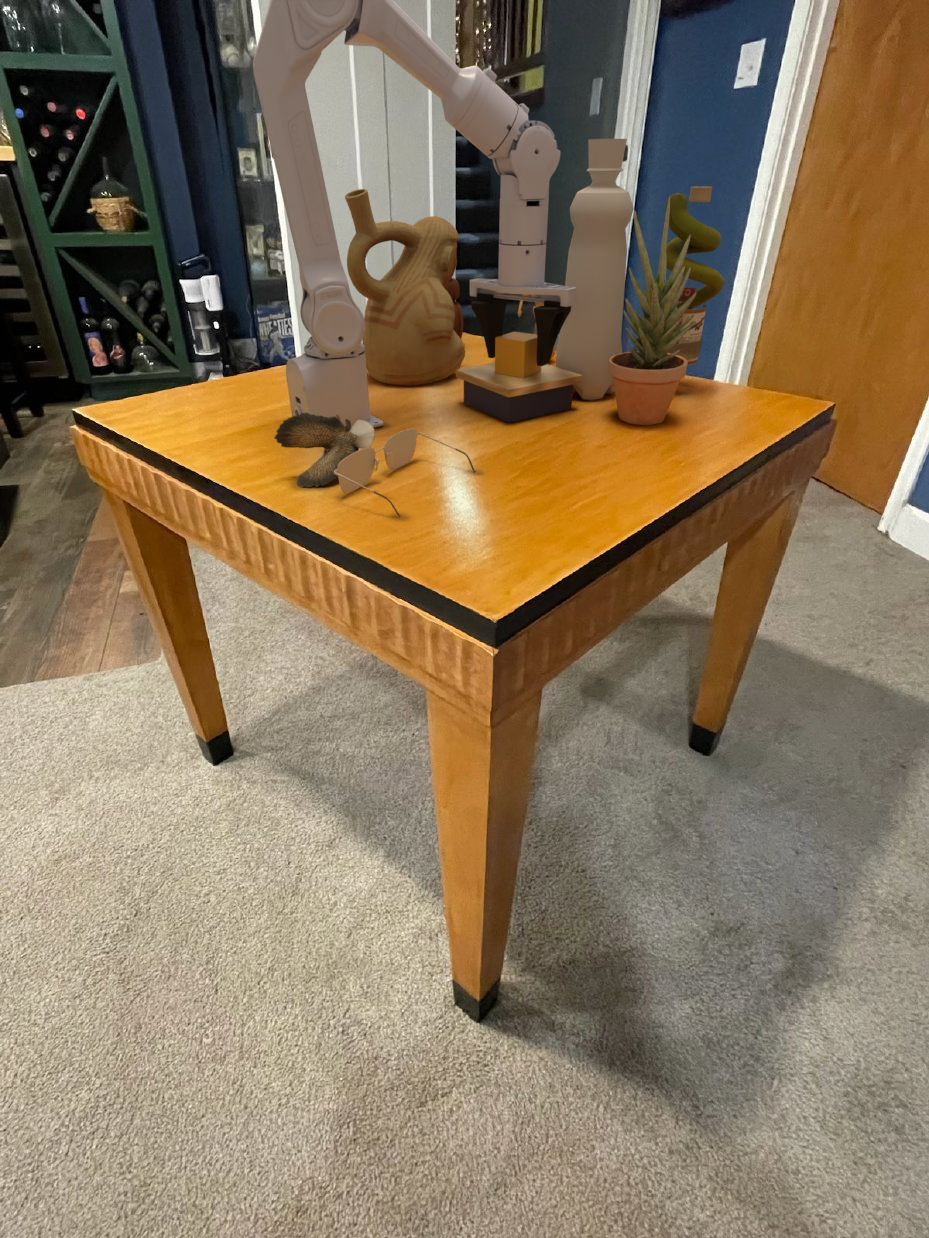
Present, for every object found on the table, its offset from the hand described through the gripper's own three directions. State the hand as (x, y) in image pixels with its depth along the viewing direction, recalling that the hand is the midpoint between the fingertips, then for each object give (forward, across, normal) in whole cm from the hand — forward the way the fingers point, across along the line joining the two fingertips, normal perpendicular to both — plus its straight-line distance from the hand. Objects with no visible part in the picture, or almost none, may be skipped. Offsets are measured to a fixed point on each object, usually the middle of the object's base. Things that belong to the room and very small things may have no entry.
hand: (518, 360), depth 90 cm
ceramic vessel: (+6, +22, -4) cm, 24 cm away
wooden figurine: (+6, +30, -24) cm, 39 cm away
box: (+6, 0, 0) cm, 6 cm away
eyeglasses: (+6, -6, +30) cm, 31 cm away
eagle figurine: (+6, +4, +32) cm, 32 cm away
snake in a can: (+6, -13, -20) cm, 24 cm away
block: (+2, 0, 0) cm, 2 cm away
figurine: (+6, +11, -24) cm, 27 cm away
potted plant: (+6, -16, -5) cm, 18 cm away
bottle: (+6, -5, -11) cm, 14 cm away
